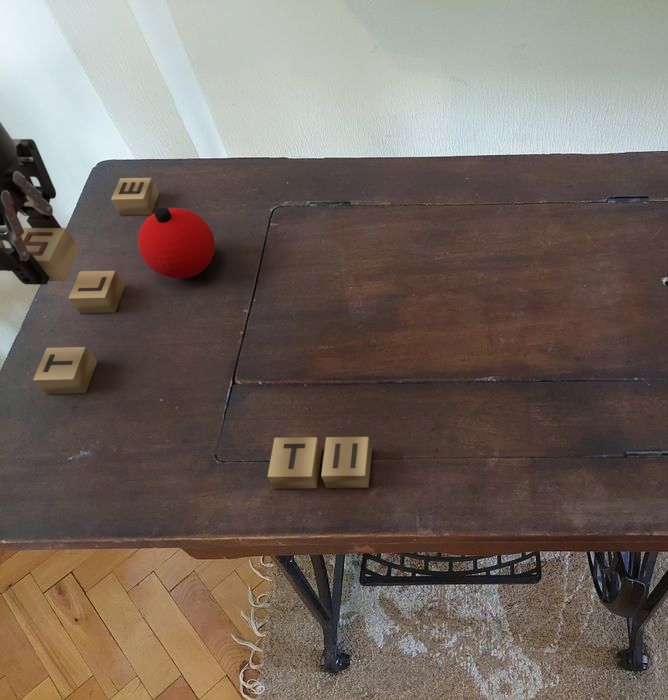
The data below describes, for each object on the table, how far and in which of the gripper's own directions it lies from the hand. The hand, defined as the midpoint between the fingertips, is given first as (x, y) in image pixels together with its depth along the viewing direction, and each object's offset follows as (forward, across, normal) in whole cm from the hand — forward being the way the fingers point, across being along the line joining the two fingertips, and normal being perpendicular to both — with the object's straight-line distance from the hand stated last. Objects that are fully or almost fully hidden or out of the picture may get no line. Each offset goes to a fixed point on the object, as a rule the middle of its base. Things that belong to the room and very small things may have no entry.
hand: (48, 262), depth 66 cm
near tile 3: (+16, +15, +30) cm, 37 cm away
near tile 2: (+16, +15, +24) cm, 33 cm away
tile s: (0, 0, 0) cm, 0 cm away
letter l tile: (+16, -8, -5) cm, 19 cm away
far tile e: (+16, -26, -5) cm, 31 cm away
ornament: (+16, -14, +5) cm, 22 cm away
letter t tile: (+16, +4, -4) cm, 17 cm away
